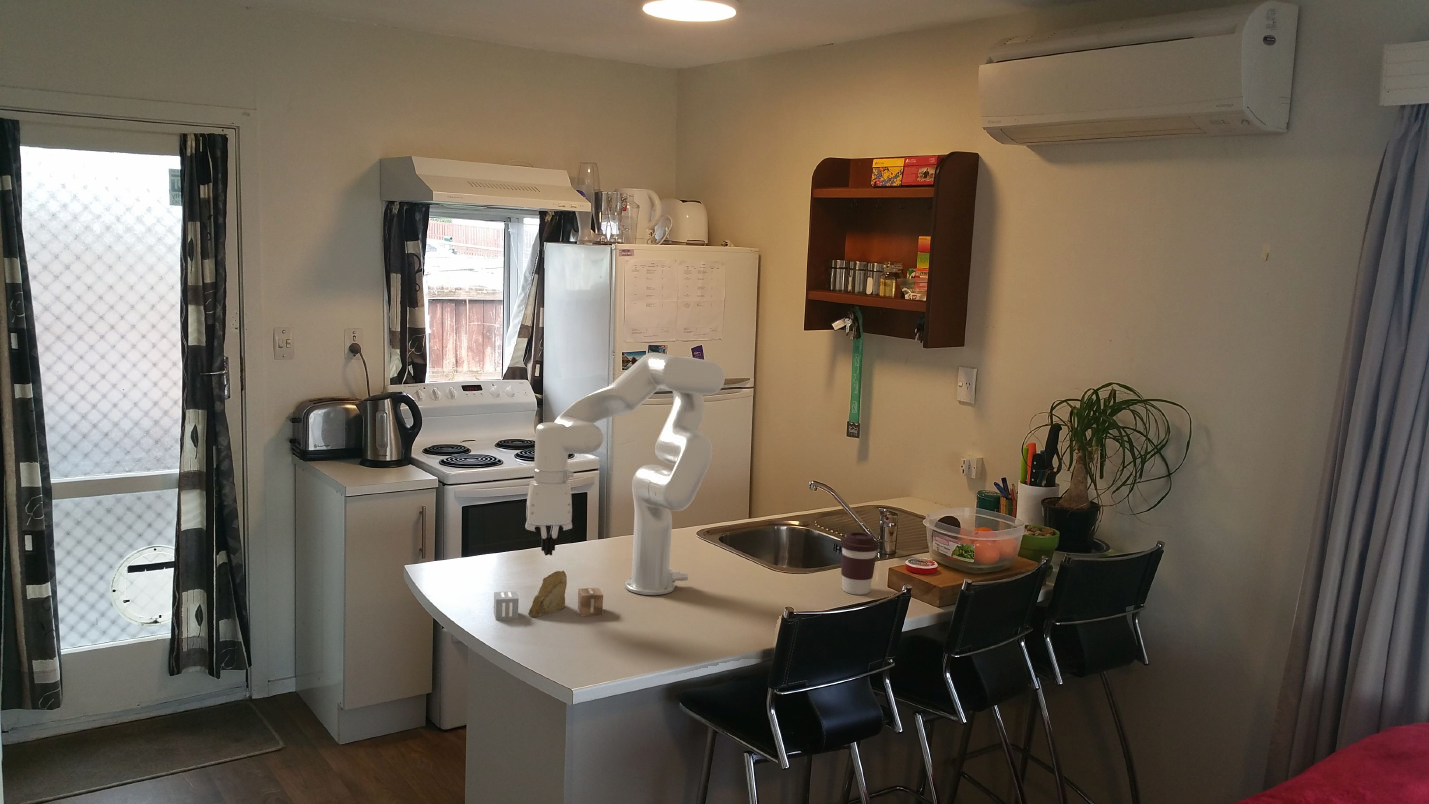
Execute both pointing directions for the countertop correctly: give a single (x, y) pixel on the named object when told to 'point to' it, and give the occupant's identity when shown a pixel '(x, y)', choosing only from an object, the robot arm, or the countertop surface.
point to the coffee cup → (858, 562)
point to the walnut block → (590, 601)
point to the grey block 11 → (506, 605)
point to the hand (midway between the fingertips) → (547, 553)
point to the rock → (550, 595)
